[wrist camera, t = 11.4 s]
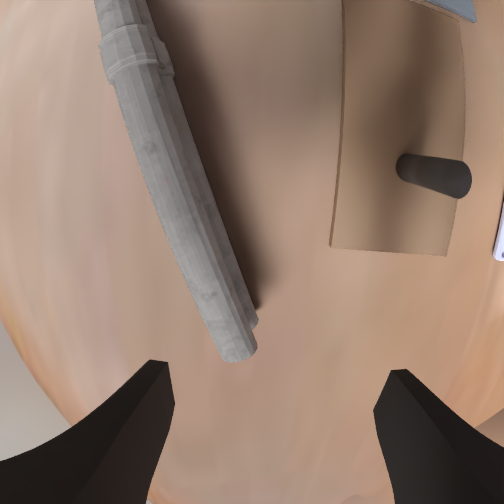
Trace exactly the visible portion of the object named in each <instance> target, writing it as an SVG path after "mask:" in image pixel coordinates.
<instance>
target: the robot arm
mask: <svg viewBox="0 0 504 504" xmlns="http://www.w3.org/2000/svg"><path fill="white" fill-rule="evenodd" d="M502 253H503V254H502ZM493 257H494V258H495V259H496V260H500V261H504V203H503V209H502V215H501V220H500V225H499V230H498V235H497V239H496V243H495V247H494V251H493ZM174 406H175V401H174V395H173V390H172V384H171V378H170V372H169V366H168V362H163V361H157V360H149V361H147V362H146V363H145V364H144V365H143V366H142V367H141V368H140V369H139V370H138V371H137V372H136V373H135V374H134V375H133V376H132V377H131V378H130V379H129V380H128V381H127V382H126V383H125V384H124V385H123V386H121V387H120V388H119V389H118V390H117V391H116V392H115V393H114V394H113V395H111V396H110V397H109V398H108V399H107V400H106V401H105V402H104V403H102V404H101V405H100V406H99V407H97V408H96V409H95V410H94V411H92V412H91V413H90V414H89V415H87V416H86V417H85V418H84V419H82V420H81V421H79V422H78V423H77V424H75V425H74V426H72V427H71V428H69V429H68V430H66V431H65V432H63V433H62V434H60V435H58V436H57V437H55V438H53V439H52V440H50V441H48V442H46V443H44V444H42V445H40V446H38V447H36V448H34V449H32V450H29V451H27V452H24V453H22V454H20V455H17V456H14V457H12V458H9V459H6V460H3V461H0V504H146V500H147V495H148V491H149V487H150V484H151V480H152V477H153V475H154V472H155V469H156V466H157V463H158V461H159V458H160V455H161V452H162V449H163V447H164V444H165V441H166V438H167V435H168V432H169V429H170V425H171V420H172V416H173V411H174ZM373 412H374V418H375V425H376V430H377V436H378V439H379V443H380V446H381V449H382V453H383V456H384V459H385V463H386V466H387V470H388V473H389V477H390V480H391V484H392V488H393V493H394V499H395V504H504V447H502V446H500V445H498V444H497V443H495V442H493V441H492V440H490V439H489V438H487V437H486V436H484V435H483V434H481V433H480V432H478V431H477V430H475V429H474V428H473V427H472V426H470V425H469V424H468V423H467V422H465V421H464V420H463V419H462V418H460V417H459V416H458V415H457V414H456V413H455V412H453V411H452V410H451V409H450V408H449V407H448V406H447V405H445V404H444V403H443V402H442V401H441V400H440V399H439V398H438V397H437V396H436V395H435V394H434V393H432V392H431V391H430V390H429V389H428V388H427V387H426V386H425V385H424V384H423V383H422V382H421V381H420V380H419V379H417V378H416V377H415V376H414V375H413V374H412V373H411V372H409V371H408V370H407V369H401V370H391V372H390V374H389V376H388V379H387V381H386V383H385V386H384V388H383V390H382V392H381V395H380V397H379V399H378V401H377V403H376V405H375V407H374V409H373Z"/></svg>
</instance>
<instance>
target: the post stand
mask: <svg viewBox="0 0 504 504" xmlns="http://www.w3.org/2000/svg"><path fill="white" fill-rule="evenodd" d="M342 17H343V83H342V110H341V129H340V144H339V157H338V169H337V180H336V190H335V200H334V209H333V217H332V225H331V233H330V241H329V245H330V247H331V248H337V249H351V250H366V251H380V252H394V253H408V254H421V255H434V256H446V255H447V251H448V247H449V243H450V238H451V233H452V229H453V224H454V218H455V213H456V207H457V201H458V199H460V198H463V197H464V196H465V195H466V194H467V193H468V192H469V190H470V187H471V183H472V176H471V172H470V169H469V167H468V166H467V165H466V164H465V163H464V162H462V161H463V149H464V132H465V79H464V63H463V52H462V43H461V35H460V28H459V21H458V20H456V19H453V18H451V17H449V16H447V15H445V14H442V13H440V12H438V11H435V10H433V9H430V8H428V7H425V6H423V5H420V4H417V3H415V2H412V1H409V0H342Z"/></svg>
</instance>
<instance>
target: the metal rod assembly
mask: <svg viewBox="0 0 504 504" xmlns="http://www.w3.org/2000/svg"><path fill="white" fill-rule="evenodd" d="M94 3H95V8H96V13H97V17H98V22H99V26H100V31H101V35H102V40H101V42H100V44H99V45H98V46H99V48H100V53H101V58H102V62H103V66H104V70H105V74H106V76H107V79H108V82H109V84H110V85H114V88H115V91H116V95H117V98H118V102H119V105H120V108H121V111H122V115H123V118H124V121H125V124H126V127H127V130H128V133H129V136H130V139H131V142H132V145H133V148H134V151H135V154H136V157H137V160H138V163H139V166H140V168H141V171H142V174H143V177H144V180H145V182H146V185H147V188H148V190H149V193H150V196H151V198H152V201H153V204H154V206H155V209H156V211H157V214H158V216H159V219H160V222H161V224H162V227H163V229H164V232H165V234H166V236H167V239H168V241H169V244H170V246H171V249H172V251H173V253H174V256H175V258H176V260H177V263H178V265H179V267H180V270H181V272H182V274H183V277H184V279H185V281H186V283H187V286H188V288H189V290H190V292H191V295H192V297H193V299H194V301H195V303H196V305H197V308H198V310H199V312H200V314H201V316H202V318H203V320H204V322H205V325H206V327H207V329H208V331H209V333H210V335H211V337H212V339H213V341H214V343H215V345H216V347H217V349H218V351H219V353H220V355H221V357H222V359H223V360H224V361H225V362H239V361H242V360H244V359H246V358H249V357H251V356H252V355H253V354H254V353H255V352H256V350H257V342H256V340H255V337H254V335H253V332H252V329H253V328H255V326H256V325H257V323H258V320H259V319H258V317H257V314H256V311H255V309H254V306H253V303H252V301H251V298H250V295H249V293H248V290H247V287H246V284H245V282H244V279H243V276H242V274H241V271H240V268H239V266H238V263H237V260H236V257H235V255H234V252H233V249H232V246H231V244H230V241H229V238H228V235H227V233H226V230H225V227H224V224H223V222H222V219H221V216H220V213H219V211H218V208H217V205H216V202H215V199H214V197H213V194H212V191H211V188H210V185H209V182H208V180H207V177H206V174H205V171H204V168H203V165H202V163H201V160H200V157H199V154H198V151H197V148H196V145H195V142H194V140H193V137H192V134H191V131H190V128H189V125H188V122H187V119H186V116H185V113H184V110H183V107H182V104H181V101H180V99H179V96H178V93H177V90H176V87H175V84H174V81H173V78H174V76H175V72H174V71H173V65H172V62H171V59H170V57H169V54H168V51H167V49H166V47H165V43H164V42H162V41H160V40H159V38H158V36H157V33H156V30H155V27H154V24H153V21H152V18H151V15H150V12H149V9H148V6H147V3H146V0H94Z"/></svg>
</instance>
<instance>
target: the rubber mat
mask: <svg viewBox="0 0 504 504" xmlns="http://www.w3.org/2000/svg"><path fill="white" fill-rule="evenodd" d="M425 1H428V2H430V3H433V4H435V5H438V6H440V7H442V8H445V9H447V10H449V11H451V12H453V13H455V14H457V15H460V16H462V17H464V18H466V19H468V20H469V21H471V22H473V23H474V22H476V21H477V20H476V15H475V10H474V6H473V1H472V0H425Z"/></svg>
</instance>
